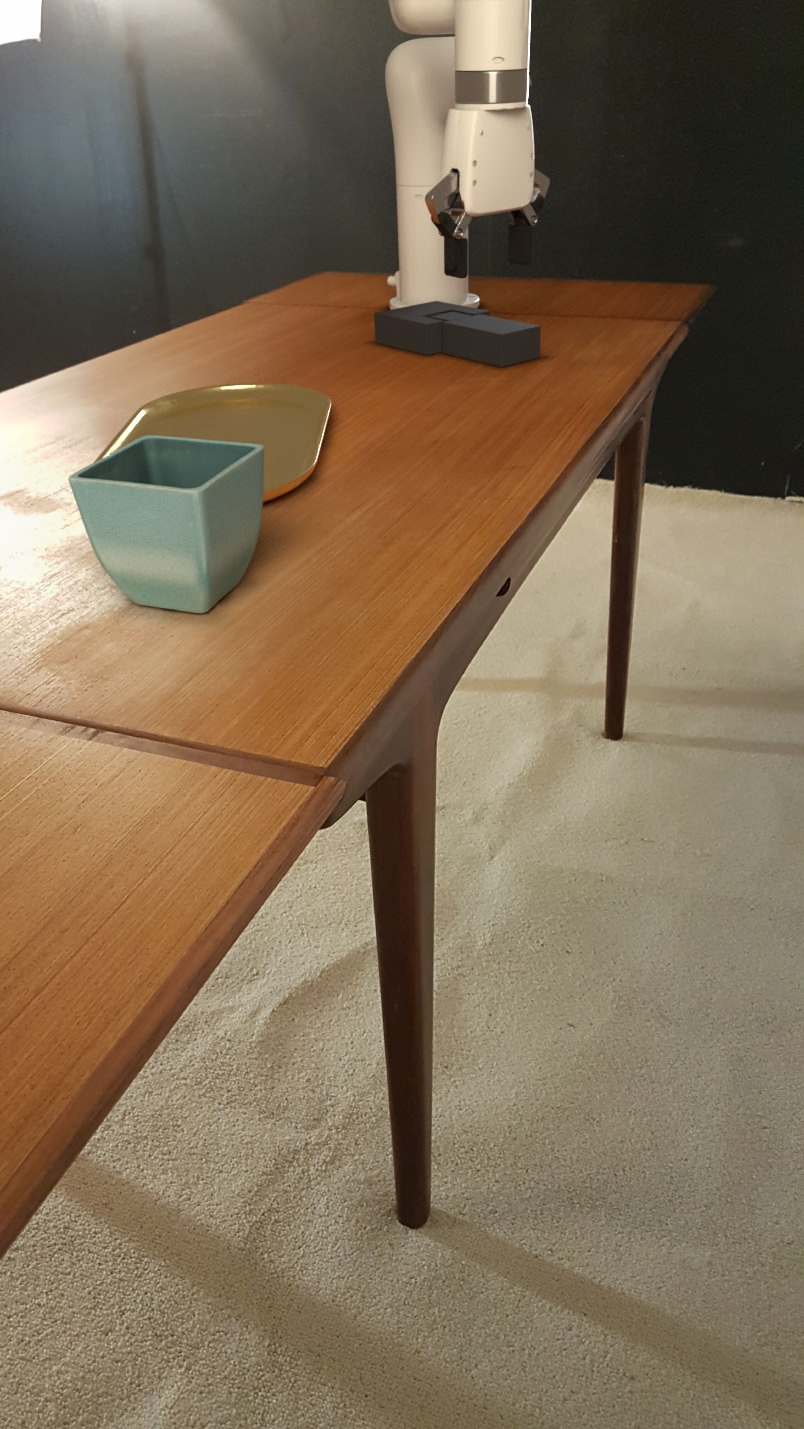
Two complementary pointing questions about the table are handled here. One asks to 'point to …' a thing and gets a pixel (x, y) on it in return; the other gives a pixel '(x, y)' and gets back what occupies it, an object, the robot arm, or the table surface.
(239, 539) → the flower pot
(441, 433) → the table surface
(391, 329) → the notch pad
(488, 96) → the robot arm
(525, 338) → the pad
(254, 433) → the serving platter
